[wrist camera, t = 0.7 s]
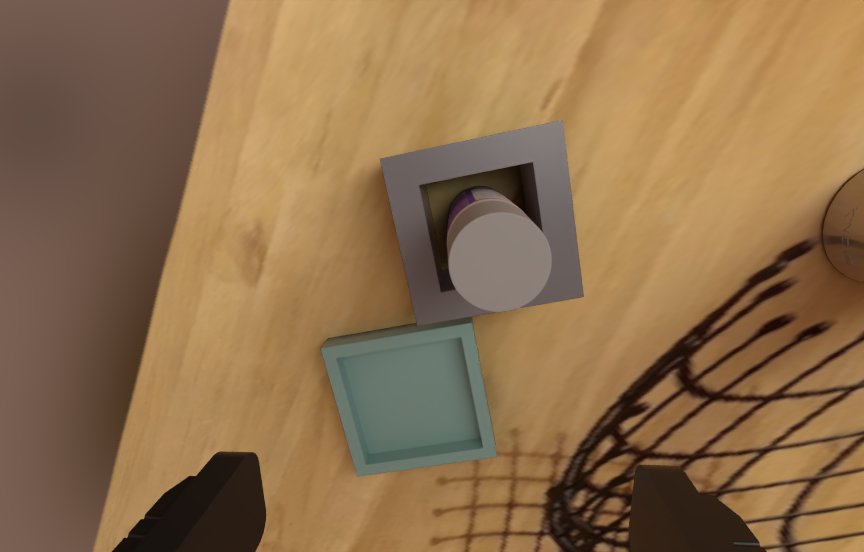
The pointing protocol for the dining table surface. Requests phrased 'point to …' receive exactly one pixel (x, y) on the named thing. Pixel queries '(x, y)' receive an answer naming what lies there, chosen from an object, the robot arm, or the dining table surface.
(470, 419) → the tray
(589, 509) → the dining table surface
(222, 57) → the dining table surface
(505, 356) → the dining table surface
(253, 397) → the dining table surface
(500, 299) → the container
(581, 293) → the bay
